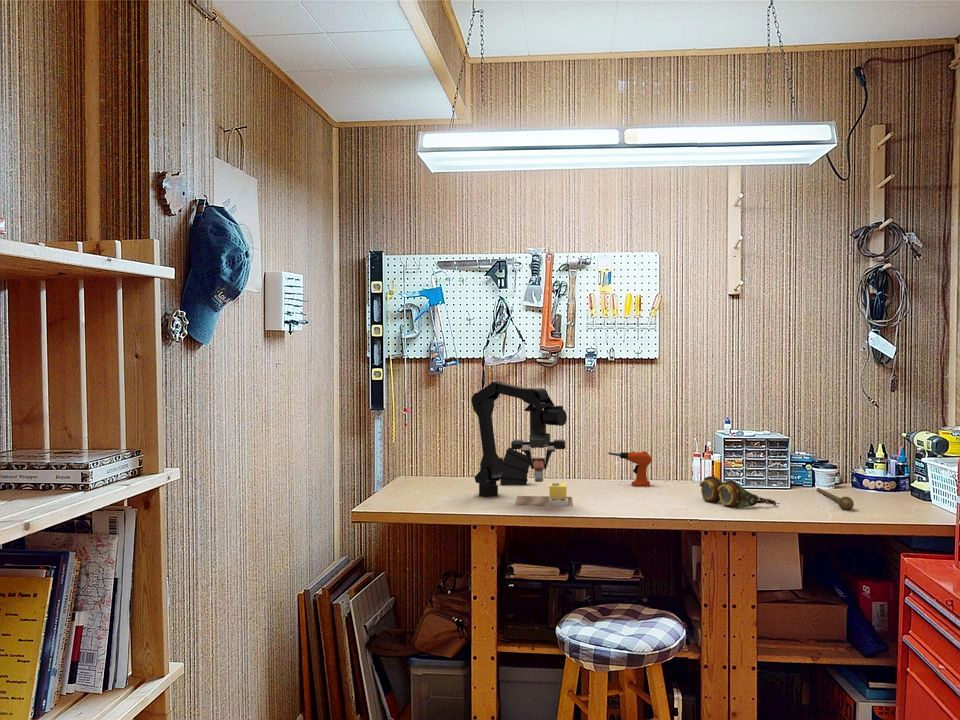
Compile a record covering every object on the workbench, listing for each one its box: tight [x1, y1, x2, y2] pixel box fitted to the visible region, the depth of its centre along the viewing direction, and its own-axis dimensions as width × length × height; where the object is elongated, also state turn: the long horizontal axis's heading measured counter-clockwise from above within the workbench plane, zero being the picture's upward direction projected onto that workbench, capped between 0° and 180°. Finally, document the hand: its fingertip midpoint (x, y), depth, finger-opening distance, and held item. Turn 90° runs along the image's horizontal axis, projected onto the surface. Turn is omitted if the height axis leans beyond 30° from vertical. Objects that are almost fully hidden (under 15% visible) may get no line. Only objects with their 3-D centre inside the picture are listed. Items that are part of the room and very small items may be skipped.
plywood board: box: [514, 495, 574, 508], centre depth 251 cm, size 20×16×1 cm
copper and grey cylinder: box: [532, 457, 546, 483], centre depth 245 cm, size 4×4×8 cm
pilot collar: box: [548, 497, 568, 507], centre depth 246 cm, size 7×7×2 cm
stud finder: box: [549, 482, 567, 498], centre depth 254 cm, size 6×7×5 cm
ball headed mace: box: [816, 487, 855, 511], centre depth 255 cm, size 5×35×5 cm
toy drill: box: [607, 450, 652, 488], centre depth 285 cm, size 5×18×14 cm, turn 82°
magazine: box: [500, 446, 531, 486], centre depth 288 cm, size 4×13×15 cm, turn 88°
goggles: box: [698, 475, 777, 509], centre depth 252 cm, size 24×24×10 cm
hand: (538, 469), depth 245 cm, fingers closed on copper and grey cylinder, 4 cm apart
